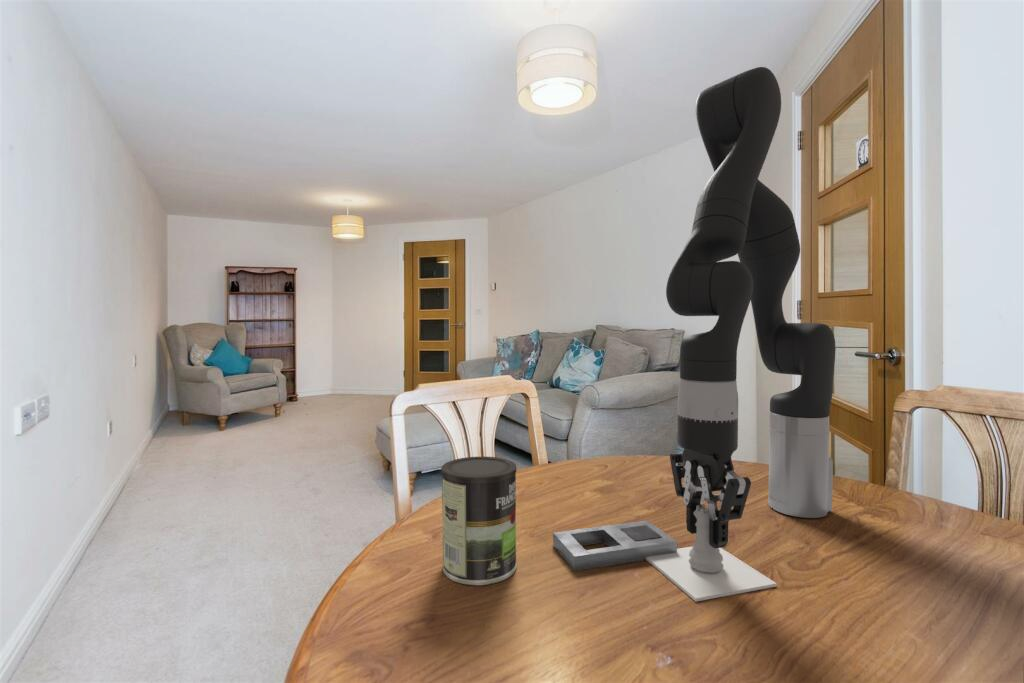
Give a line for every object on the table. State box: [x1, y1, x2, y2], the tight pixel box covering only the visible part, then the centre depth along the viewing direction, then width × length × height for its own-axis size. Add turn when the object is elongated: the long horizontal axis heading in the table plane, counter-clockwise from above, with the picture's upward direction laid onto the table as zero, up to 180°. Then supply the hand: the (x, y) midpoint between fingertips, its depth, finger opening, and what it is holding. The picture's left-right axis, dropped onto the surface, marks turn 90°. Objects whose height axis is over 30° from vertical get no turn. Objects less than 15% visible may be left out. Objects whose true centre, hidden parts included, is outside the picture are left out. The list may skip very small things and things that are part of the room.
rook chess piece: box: [689, 504, 723, 573], centre depth 67 cm, size 4×4×8 cm
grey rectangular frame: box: [552, 519, 678, 572], centre depth 73 cm, size 16×8×2 cm, turn 106°
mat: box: [645, 545, 778, 603], centre depth 67 cm, size 12×12×1 cm
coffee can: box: [440, 456, 517, 586], centre depth 69 cm, size 10×10×14 cm
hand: (705, 538), depth 67 cm, fingers open, 4 cm apart
